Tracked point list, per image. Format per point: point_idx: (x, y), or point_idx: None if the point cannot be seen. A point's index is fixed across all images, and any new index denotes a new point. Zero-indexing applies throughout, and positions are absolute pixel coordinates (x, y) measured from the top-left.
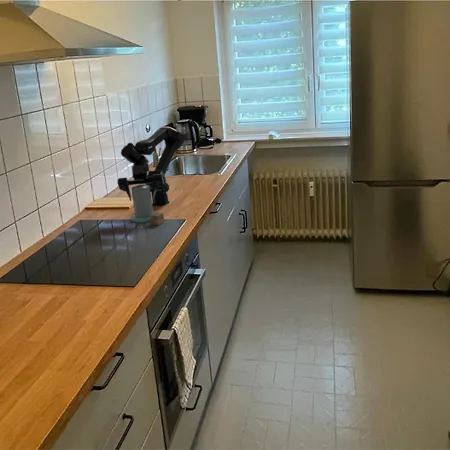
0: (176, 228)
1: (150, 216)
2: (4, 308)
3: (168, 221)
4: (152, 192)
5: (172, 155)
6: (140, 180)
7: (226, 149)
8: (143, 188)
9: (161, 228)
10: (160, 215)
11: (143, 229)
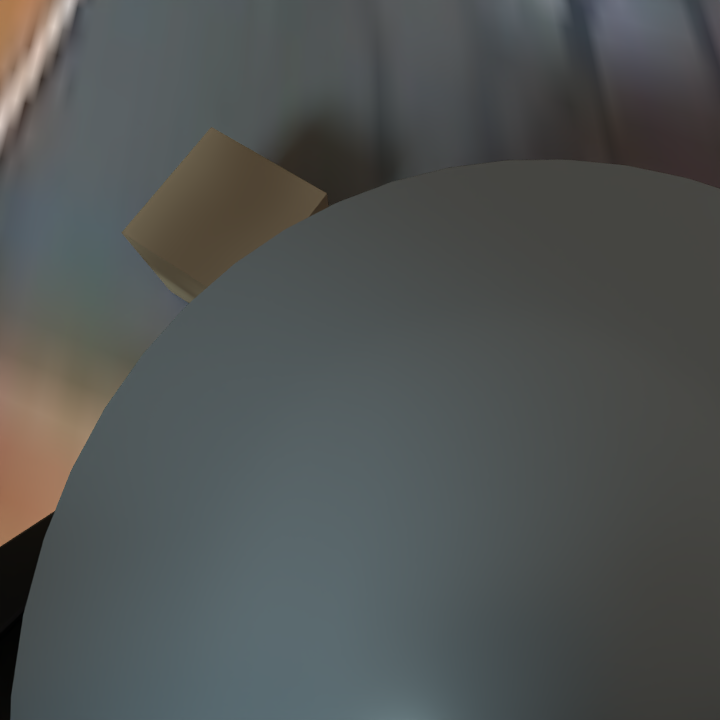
0: (76, 61)
1: (314, 193)
2: None
3: (119, 315)
4: None
5: None
6: None
7: None
8: (372, 205)
9: (223, 109)
10: (174, 185)
11: (415, 142)
